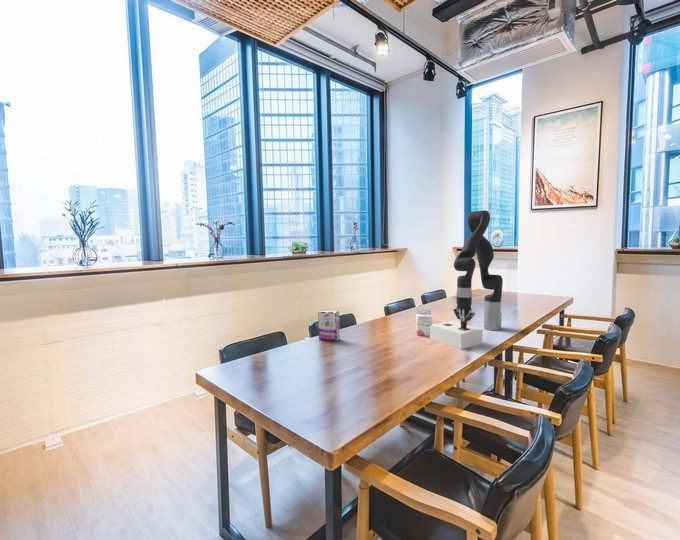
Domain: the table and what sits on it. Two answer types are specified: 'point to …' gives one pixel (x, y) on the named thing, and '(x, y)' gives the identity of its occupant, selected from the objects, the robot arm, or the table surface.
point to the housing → (456, 335)
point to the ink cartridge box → (423, 322)
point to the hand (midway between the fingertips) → (463, 328)
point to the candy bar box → (329, 325)
